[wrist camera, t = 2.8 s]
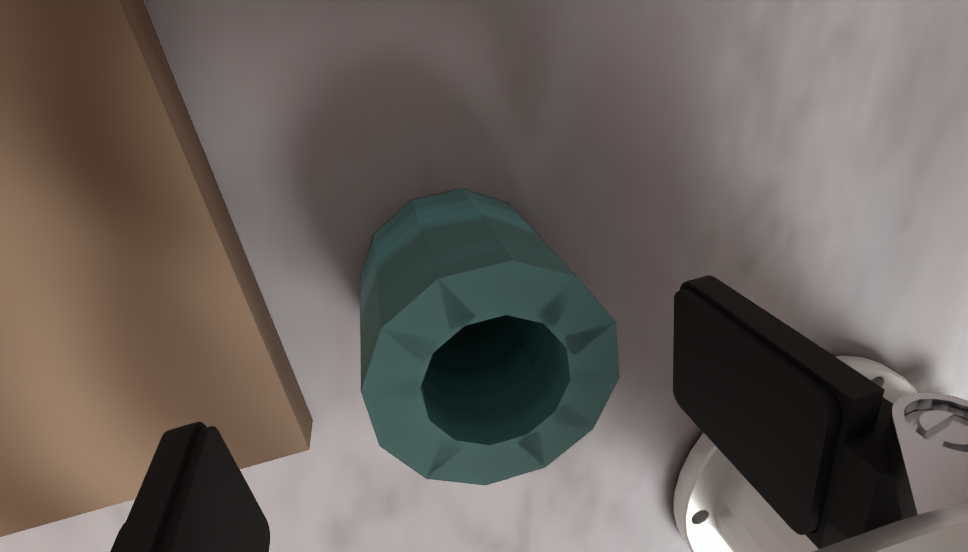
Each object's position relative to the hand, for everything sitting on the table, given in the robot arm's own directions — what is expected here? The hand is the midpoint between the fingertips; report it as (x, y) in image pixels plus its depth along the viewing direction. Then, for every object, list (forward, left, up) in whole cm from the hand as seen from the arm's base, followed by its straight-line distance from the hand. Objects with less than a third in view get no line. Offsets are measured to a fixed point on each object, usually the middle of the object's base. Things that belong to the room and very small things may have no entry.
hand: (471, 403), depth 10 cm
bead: (-1, +1, -7) cm, 7 cm away
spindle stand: (+13, -2, -7) cm, 15 cm away
